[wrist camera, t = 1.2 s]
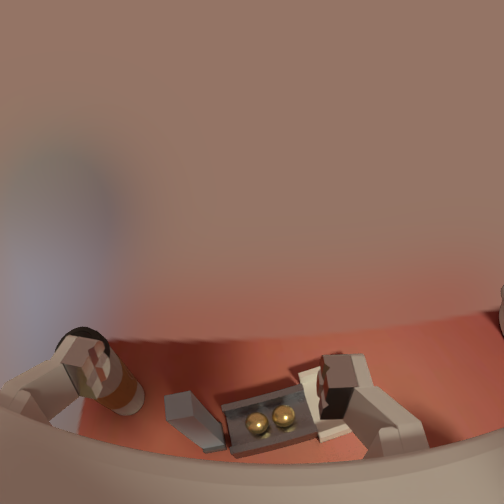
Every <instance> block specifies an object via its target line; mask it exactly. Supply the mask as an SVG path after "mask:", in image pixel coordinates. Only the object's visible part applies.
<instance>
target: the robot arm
mask: <svg viewBox="0 0 504 504" xmlns="http://www.w3.org/2000/svg"><path fill="white" fill-rule="evenodd" d="M501 297H502V304H501V307H500V311H499V322H500V327H501V330H502V332H503V335H504V285H503V287H502V288H501ZM104 349H105V347H104V344H103V342H102V341H100V340H95V339H89V338H84V337H77V336H72V335H68V336H66V338H65V339H64V340H63V342H62V343H61V345H60V346H59V348H58V349H57V351H56V352H55V354H54V355H53V356H52V358H51V359H50V361H48V360H46V361H44V362H43V363H41V364H39V365H37V366H35V367H33V368H32V369H30V370H28V371H26V372H24V373H22V374H20V375H19V376H17V377H15V378H13V379H11V380H9V381H8V382H6V383H5V384H4V386H3V387H2V388H1V390H0V504H504V428H501V429H498V430H495V431H492V432H489V433H486V434H482V435H479V436H476V437H473V438H469V439H466V440H462V441H458V442H454V443H451V444H447V445H442V446H438V447H434V448H429V444H428V441H427V438H426V435H425V432H424V429H423V426H422V423H421V421H420V420H418V419H417V418H416V417H415V416H413V415H412V414H411V413H410V412H408V411H407V410H406V409H405V408H404V407H402V406H401V405H400V404H399V403H397V402H396V401H395V400H394V399H393V398H391V397H390V396H389V395H388V394H386V393H385V392H384V391H383V390H382V389H380V388H379V387H378V386H373V383H372V379H371V376H370V372H369V369H368V366H367V363H366V359H365V356H364V355H363V354H342V355H322V356H321V359H320V370H319V371H318V374H317V382H316V390H317V396H318V397H319V398H320V400H319V404H318V408H319V416H320V420H335V419H343V421H344V422H345V423H346V425H347V426H348V427H349V428H350V429H351V430H352V432H353V433H354V434H355V435H356V436H357V437H358V439H359V440H360V441H361V442H362V443H363V444H364V445H365V447H366V448H367V449H368V451H367V453H366V454H365V456H364V458H363V459H362V460H352V461H341V462H327V463H307V464H257V463H236V462H222V461H211V460H202V459H193V458H185V457H178V456H171V455H165V454H159V453H153V452H148V451H143V450H138V449H133V448H128V447H124V446H119V445H115V444H111V443H107V442H103V441H99V440H95V439H92V438H88V437H84V436H81V435H78V434H74V433H71V432H68V431H65V430H61V429H59V428H56V427H53V426H52V425H51V424H50V422H49V421H50V420H51V419H52V418H53V417H55V416H56V415H57V414H58V413H60V412H61V411H62V410H63V409H65V408H66V407H67V406H68V405H70V404H71V403H72V402H73V401H75V400H76V399H77V398H78V397H79V396H82V397H87V398H92V399H97V398H98V396H99V394H100V392H101V390H102V388H103V386H102V382H103V381H105V380H106V379H107V378H108V375H109V372H110V361H109V358H108V356H107V355H106V354H105V353H104V352H103V351H104Z"/></svg>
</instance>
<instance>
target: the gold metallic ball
mask: <svg viewBox="0 0 504 504" xmlns="http://www.w3.org/2000/svg"><path fill="white" fill-rule="evenodd" d="M272 420H273V422H274V423H275V424H276V425H277V426H280V427H287V426H289V425H291V424H292V423H293V422H294V420H295V412H294V410H293V408H291V407H290V406H288V405H280V406H277V407H276V408H275V409H274V410H273V412H272Z"/></svg>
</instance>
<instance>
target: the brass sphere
mask: <svg viewBox="0 0 504 504" xmlns="http://www.w3.org/2000/svg"><path fill="white" fill-rule="evenodd" d="M268 425H269V421H268V418H267V417H266V415H264V414H263V413H260V412H254V413H251V414H249V415H248V416H247V418H246V420H245V426H246V428H247V430H248V431H249V432H251V433H253V434H261V433H263V432H264V431H266V429H267V428H268Z"/></svg>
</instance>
